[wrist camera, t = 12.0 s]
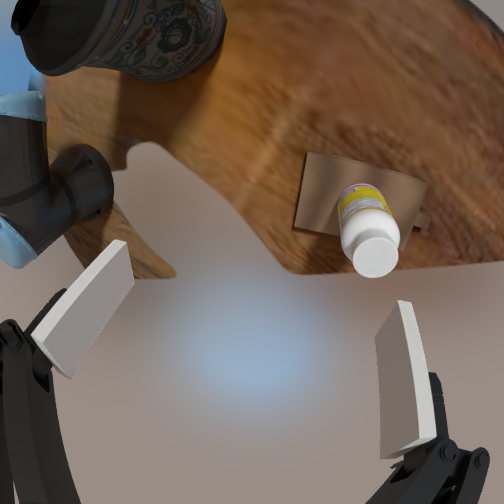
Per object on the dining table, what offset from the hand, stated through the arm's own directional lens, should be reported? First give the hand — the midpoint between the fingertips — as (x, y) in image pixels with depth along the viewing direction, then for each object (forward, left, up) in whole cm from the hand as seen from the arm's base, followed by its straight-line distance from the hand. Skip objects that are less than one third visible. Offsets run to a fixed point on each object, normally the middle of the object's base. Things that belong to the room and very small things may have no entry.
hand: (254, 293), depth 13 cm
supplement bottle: (+9, -5, -26) cm, 28 cm away
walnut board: (+11, -5, -27) cm, 30 cm away
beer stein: (-19, +18, -28) cm, 38 cm away
